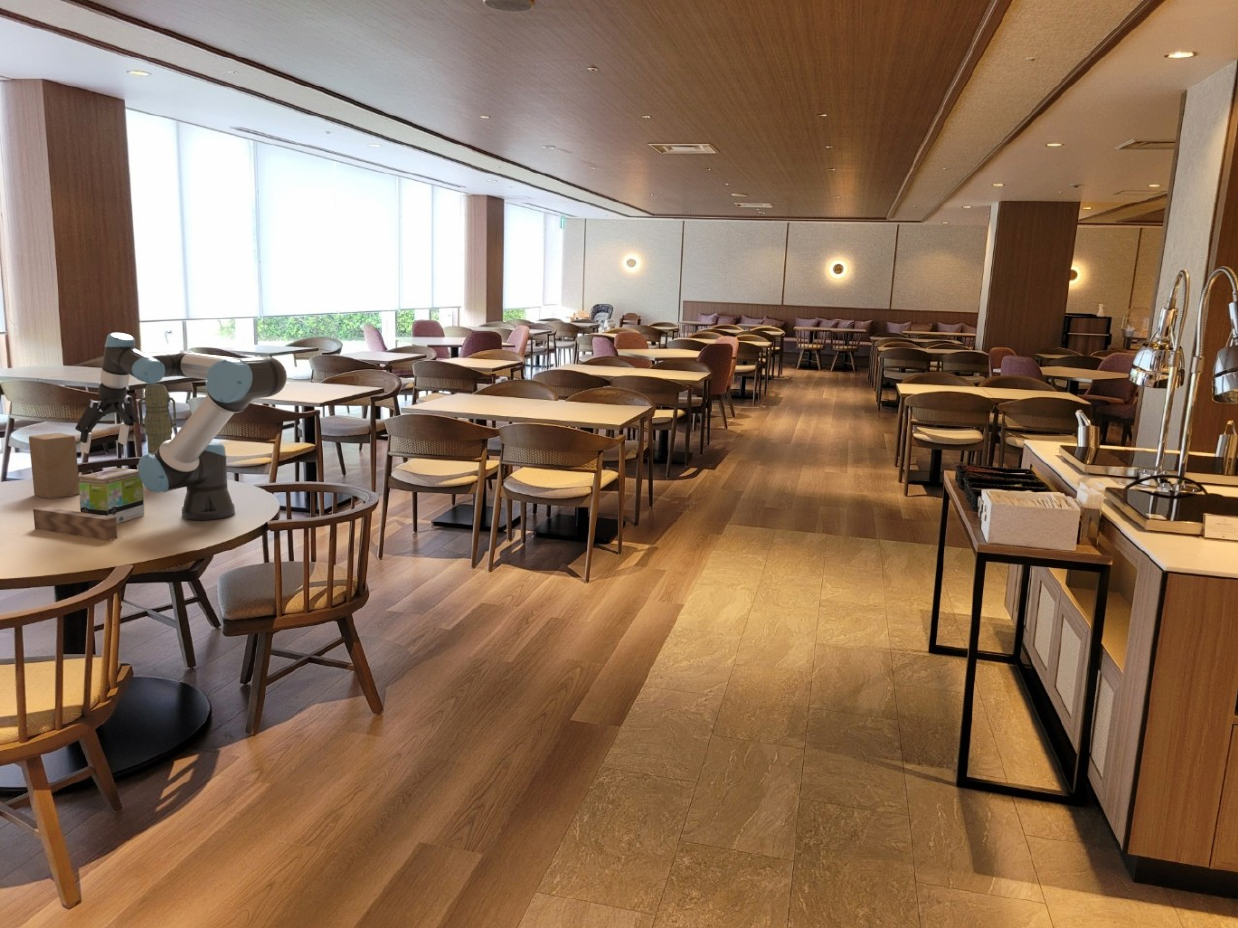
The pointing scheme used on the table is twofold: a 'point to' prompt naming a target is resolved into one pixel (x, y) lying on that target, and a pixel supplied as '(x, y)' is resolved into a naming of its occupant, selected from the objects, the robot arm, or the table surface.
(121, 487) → the tea box
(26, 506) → the table surface
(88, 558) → the table surface
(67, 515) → the walnut plank
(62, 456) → the wooden block
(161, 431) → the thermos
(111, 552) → the table surface
